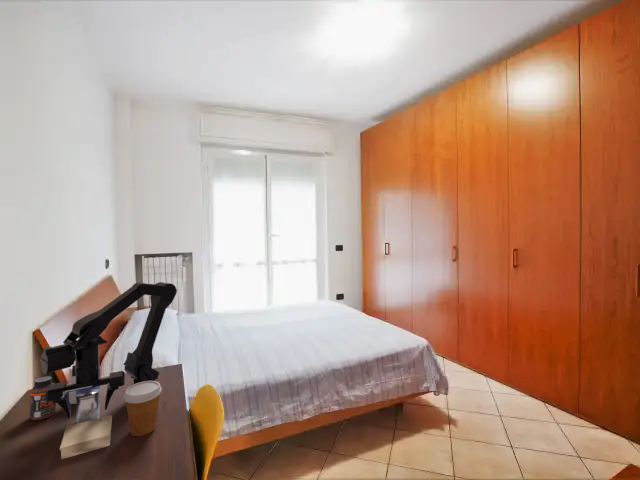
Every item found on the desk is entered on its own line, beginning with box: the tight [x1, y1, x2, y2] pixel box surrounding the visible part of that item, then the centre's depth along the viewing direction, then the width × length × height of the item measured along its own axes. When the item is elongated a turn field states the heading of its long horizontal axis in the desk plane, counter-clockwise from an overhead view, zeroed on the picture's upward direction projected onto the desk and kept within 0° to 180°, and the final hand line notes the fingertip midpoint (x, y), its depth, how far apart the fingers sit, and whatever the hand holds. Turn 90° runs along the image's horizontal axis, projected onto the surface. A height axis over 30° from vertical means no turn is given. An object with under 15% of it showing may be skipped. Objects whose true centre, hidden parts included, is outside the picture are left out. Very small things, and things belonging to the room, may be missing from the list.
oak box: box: [59, 415, 113, 460], centre depth 85 cm, size 10×10×3 cm
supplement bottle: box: [29, 376, 57, 421], centre depth 97 cm, size 6×6×11 cm
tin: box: [76, 389, 101, 424], centre depth 95 cm, size 6×6×8 cm
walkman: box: [68, 363, 101, 405], centre depth 106 cm, size 8×3×12 cm, turn 99°
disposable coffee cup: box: [122, 380, 162, 437], centre depth 91 cm, size 10×10×12 cm
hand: (88, 413), depth 95 cm, fingers open, 8 cm apart
